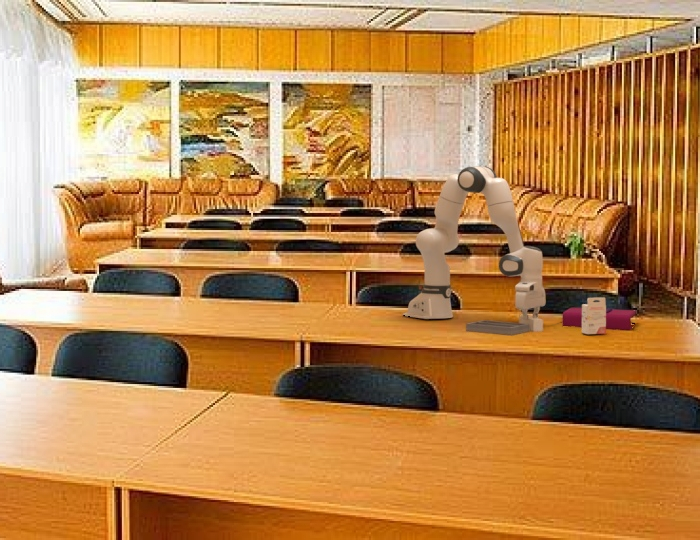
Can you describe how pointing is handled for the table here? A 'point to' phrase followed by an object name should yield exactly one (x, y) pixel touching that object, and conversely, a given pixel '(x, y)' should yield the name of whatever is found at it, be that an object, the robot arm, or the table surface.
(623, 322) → the book
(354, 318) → the table surface
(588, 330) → the ink cartridge box
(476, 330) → the divided tray
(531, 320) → the clay strip
